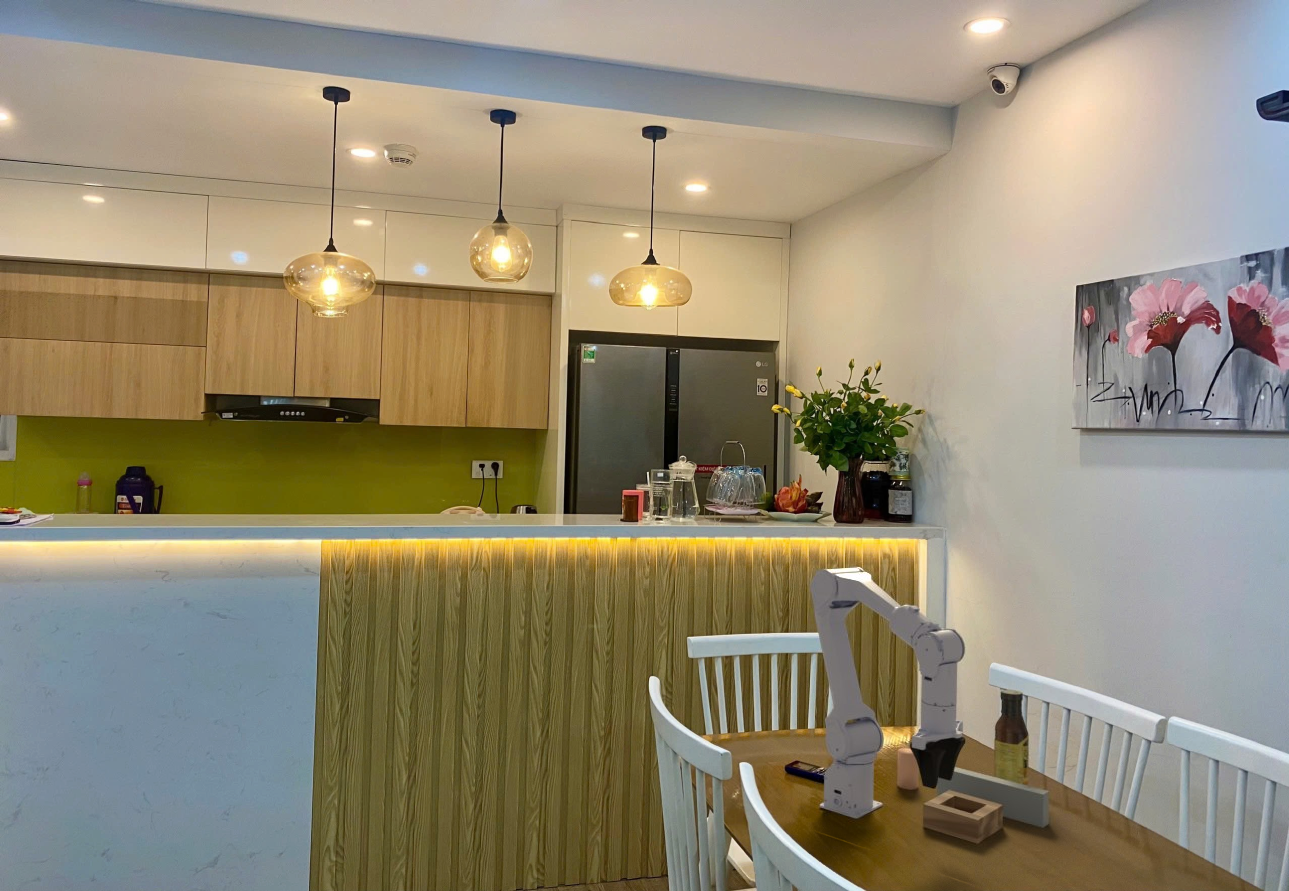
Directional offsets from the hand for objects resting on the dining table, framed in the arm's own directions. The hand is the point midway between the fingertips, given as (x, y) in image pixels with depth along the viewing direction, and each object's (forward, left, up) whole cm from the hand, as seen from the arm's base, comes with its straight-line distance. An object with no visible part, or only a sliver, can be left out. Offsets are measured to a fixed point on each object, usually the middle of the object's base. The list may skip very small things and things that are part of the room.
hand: (937, 782), depth 160 cm
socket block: (+10, 0, -10) cm, 14 cm away
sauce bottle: (+33, +1, -11) cm, 35 cm away
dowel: (+22, +17, -10) cm, 30 cm away
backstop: (+22, 0, -10) cm, 24 cm away
